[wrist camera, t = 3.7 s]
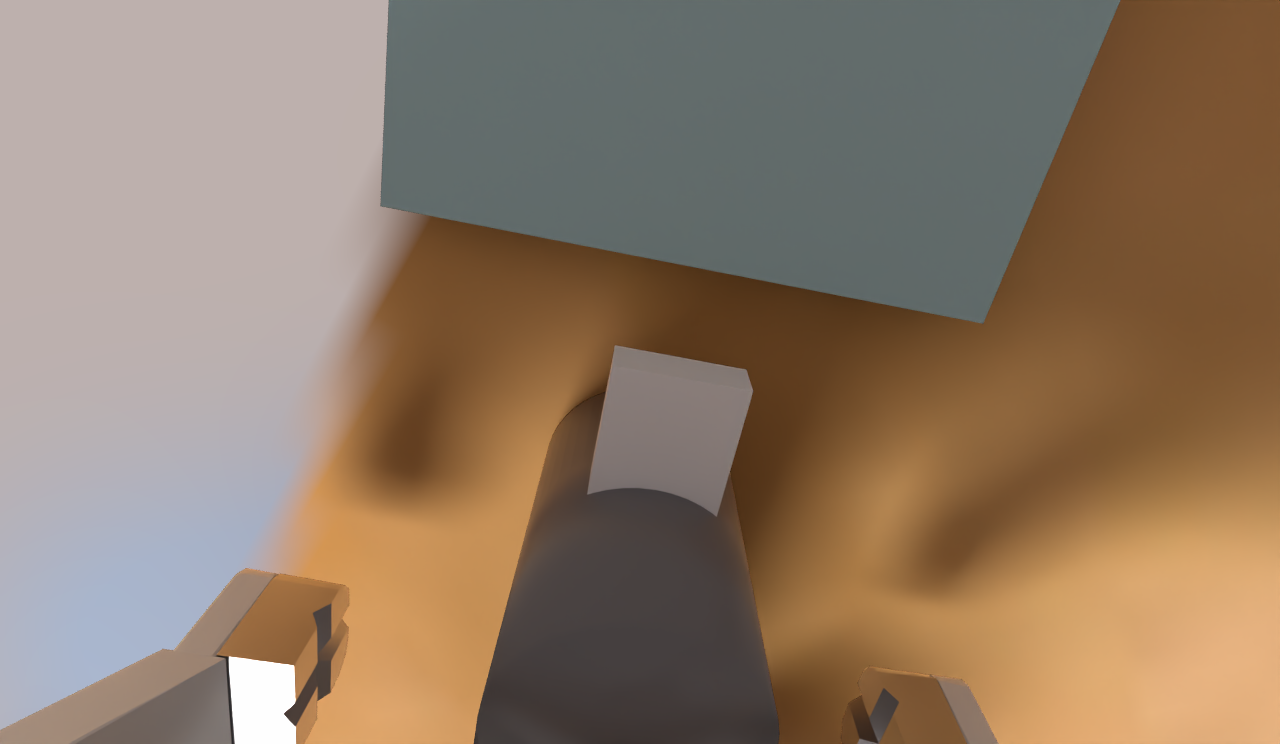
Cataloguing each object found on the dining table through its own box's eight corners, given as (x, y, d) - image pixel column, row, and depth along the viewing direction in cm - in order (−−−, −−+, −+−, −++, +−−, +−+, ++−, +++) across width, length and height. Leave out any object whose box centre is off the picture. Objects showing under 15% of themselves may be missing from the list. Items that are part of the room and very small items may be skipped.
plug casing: (773, 318, 10) (869, 520, 6) (654, 727, 14) (656, 1051, 9) (575, 280, 10) (513, 458, 6) (506, 705, 14) (434, 1026, 9)
